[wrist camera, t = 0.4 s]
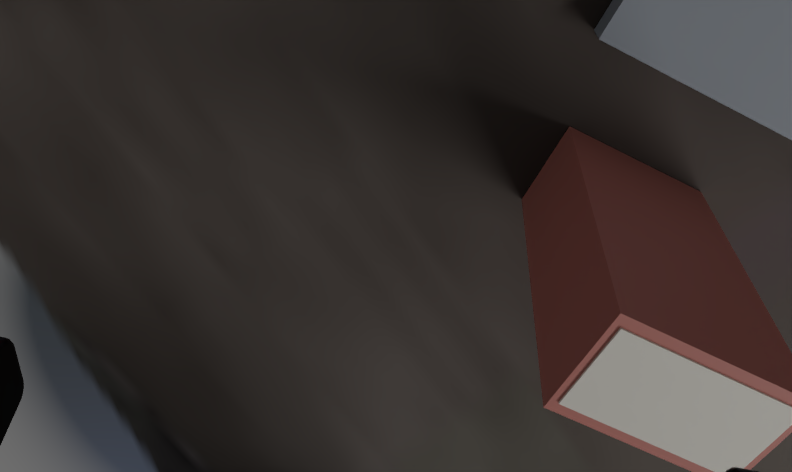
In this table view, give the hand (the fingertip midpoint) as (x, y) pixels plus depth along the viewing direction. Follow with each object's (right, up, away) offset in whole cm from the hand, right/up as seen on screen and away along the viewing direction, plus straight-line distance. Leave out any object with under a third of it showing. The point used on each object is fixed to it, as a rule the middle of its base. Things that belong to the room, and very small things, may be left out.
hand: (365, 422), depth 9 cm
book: (+8, +4, +16) cm, 18 cm away
